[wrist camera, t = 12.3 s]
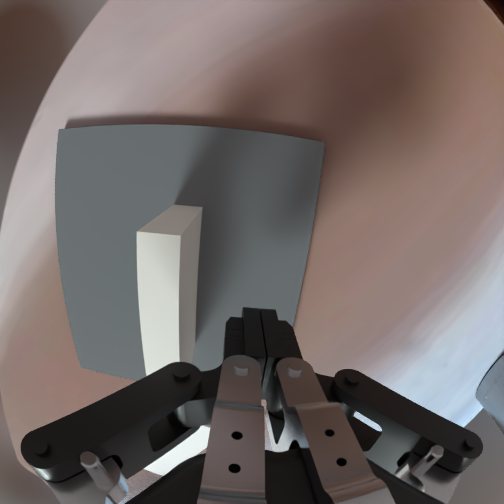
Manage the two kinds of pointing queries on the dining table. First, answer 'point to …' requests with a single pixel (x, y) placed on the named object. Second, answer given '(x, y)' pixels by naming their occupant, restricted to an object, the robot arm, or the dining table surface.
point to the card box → (168, 285)
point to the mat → (211, 237)
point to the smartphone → (181, 451)
